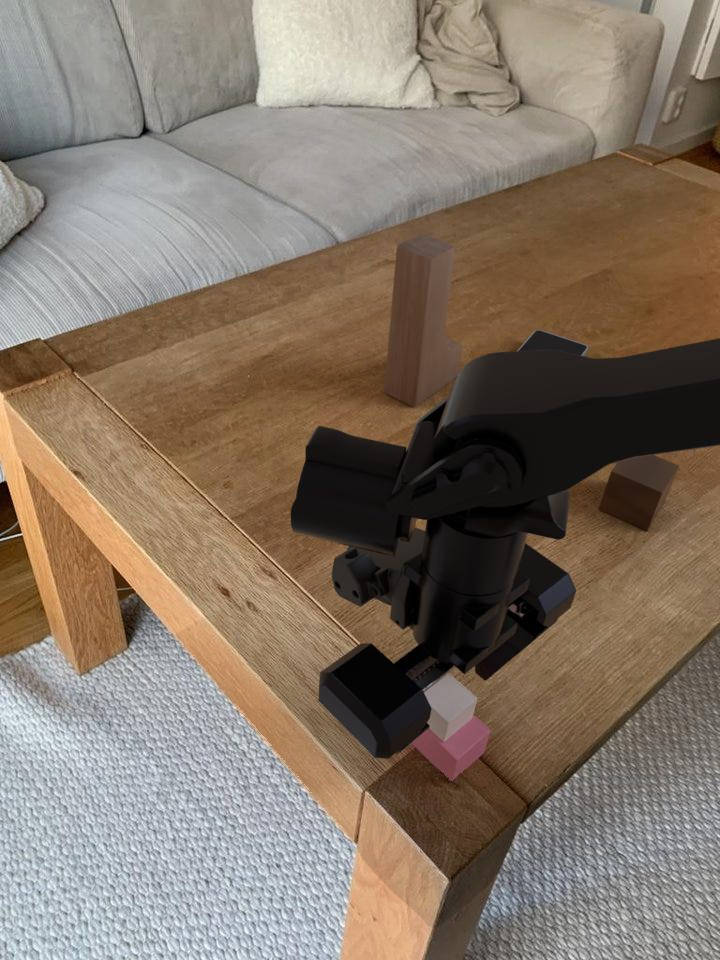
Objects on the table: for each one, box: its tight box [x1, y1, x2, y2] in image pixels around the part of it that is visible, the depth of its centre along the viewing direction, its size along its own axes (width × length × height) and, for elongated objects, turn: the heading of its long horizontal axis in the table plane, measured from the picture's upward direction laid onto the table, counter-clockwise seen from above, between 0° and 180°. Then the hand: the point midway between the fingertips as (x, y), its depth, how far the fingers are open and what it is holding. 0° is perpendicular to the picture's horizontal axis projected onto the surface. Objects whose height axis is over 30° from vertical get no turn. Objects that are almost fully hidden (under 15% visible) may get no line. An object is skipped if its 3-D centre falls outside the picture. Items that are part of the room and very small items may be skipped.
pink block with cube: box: [410, 672, 492, 782], centre depth 59 cm, size 7×4×6 cm, turn 42°
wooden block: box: [383, 233, 463, 408], centre depth 89 cm, size 9×4×18 cm, turn 140°
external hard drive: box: [516, 329, 589, 357], centre depth 98 cm, size 7×11×2 cm, turn 149°
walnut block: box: [598, 455, 680, 532], centre depth 79 cm, size 5×5×5 cm
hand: (439, 710), depth 58 cm, fingers open, 9 cm apart
